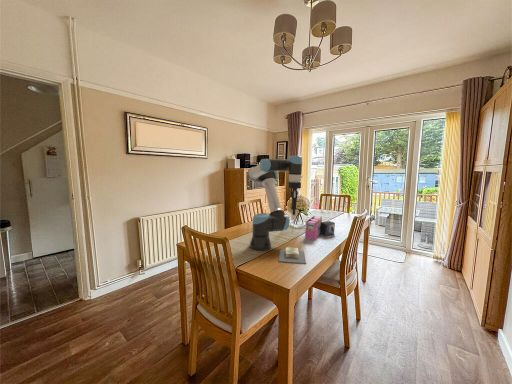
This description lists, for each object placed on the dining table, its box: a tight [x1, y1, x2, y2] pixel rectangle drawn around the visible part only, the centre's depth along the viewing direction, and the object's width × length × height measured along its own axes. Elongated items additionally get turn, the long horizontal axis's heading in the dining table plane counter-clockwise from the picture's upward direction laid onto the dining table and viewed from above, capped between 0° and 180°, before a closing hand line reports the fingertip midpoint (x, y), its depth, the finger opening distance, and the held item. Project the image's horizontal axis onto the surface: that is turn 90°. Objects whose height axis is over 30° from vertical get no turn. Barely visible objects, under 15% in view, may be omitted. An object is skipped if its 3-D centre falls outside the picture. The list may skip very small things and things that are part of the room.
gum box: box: [304, 216, 323, 241], centre depth 179 cm, size 24×8×14 cm, turn 150°
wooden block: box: [285, 247, 299, 258], centre depth 138 cm, size 8×3×10 cm
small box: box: [319, 220, 336, 237], centre depth 181 cm, size 11×6×10 cm, turn 116°
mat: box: [278, 249, 307, 265], centre depth 136 cm, size 16×18×1 cm
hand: (293, 219), depth 132 cm, fingers closed
